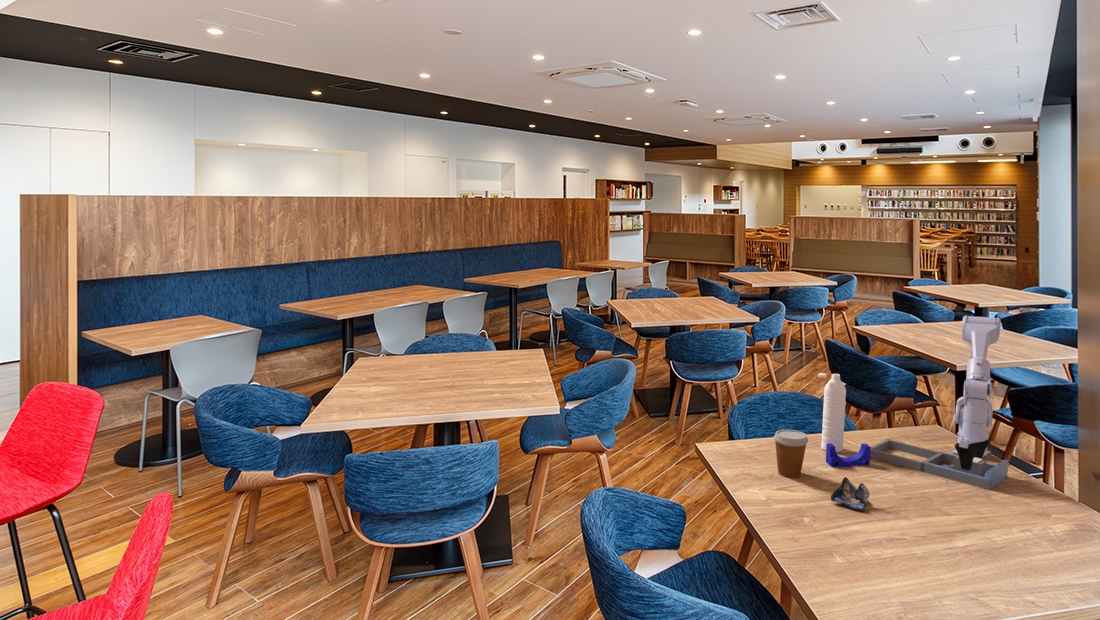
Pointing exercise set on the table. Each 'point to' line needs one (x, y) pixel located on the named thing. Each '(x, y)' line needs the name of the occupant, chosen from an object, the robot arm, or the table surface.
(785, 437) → the disposable coffee cup
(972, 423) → the robot arm
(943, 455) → the grey divided rectangular frame
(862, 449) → the blue pipe cradle
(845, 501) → the snack package
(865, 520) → the table surface
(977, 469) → the cord plug
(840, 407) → the water bottle
